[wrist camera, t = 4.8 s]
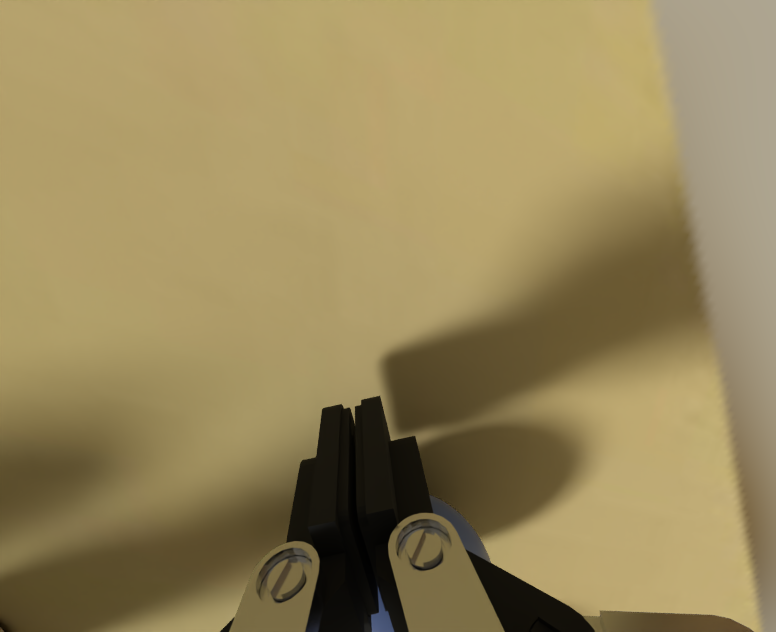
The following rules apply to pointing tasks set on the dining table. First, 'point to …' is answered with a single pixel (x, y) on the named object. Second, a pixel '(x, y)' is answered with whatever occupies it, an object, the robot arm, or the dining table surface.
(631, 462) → the dining table surface
